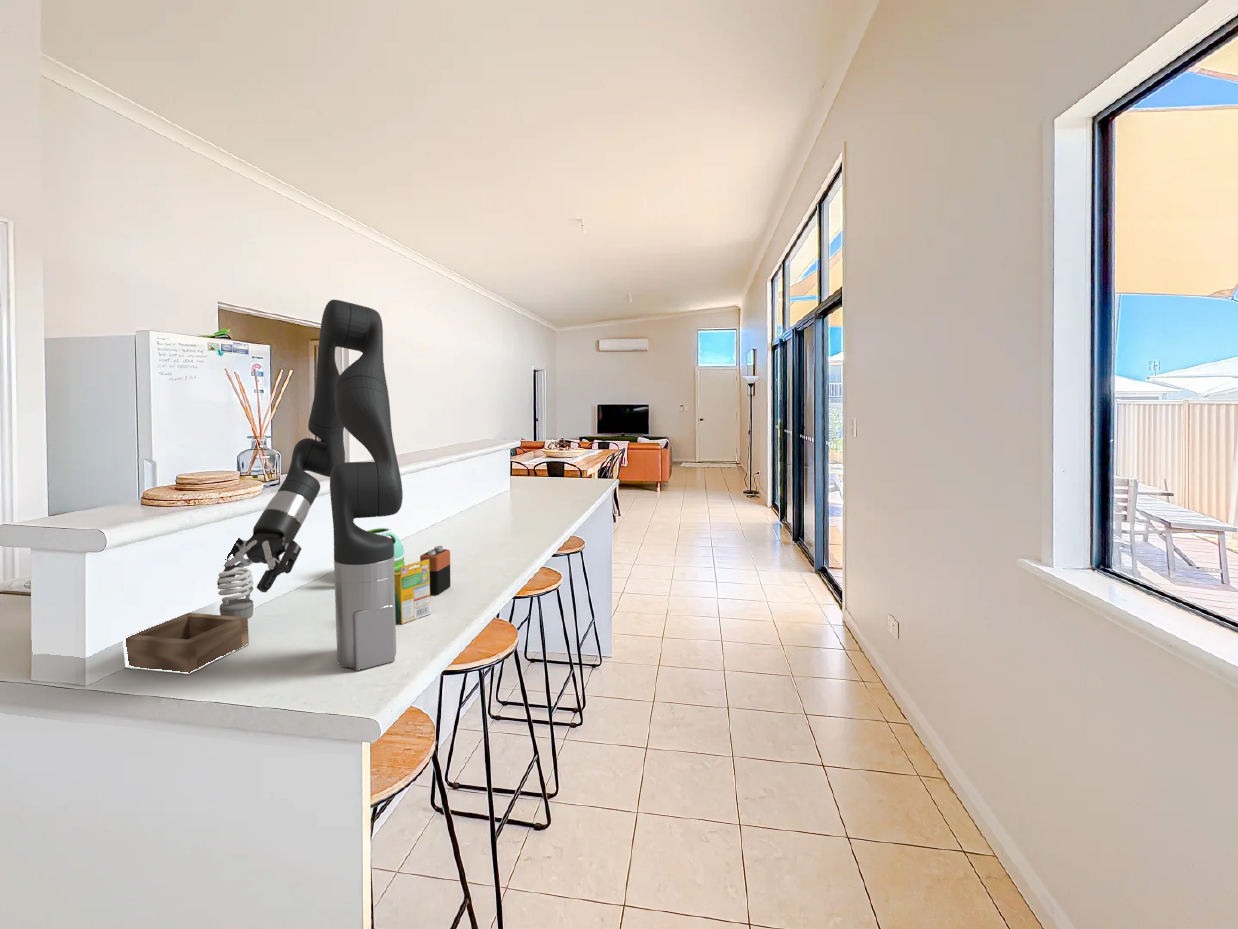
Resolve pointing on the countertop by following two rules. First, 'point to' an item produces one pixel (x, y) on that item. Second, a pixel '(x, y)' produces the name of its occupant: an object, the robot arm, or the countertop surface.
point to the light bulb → (233, 603)
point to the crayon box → (412, 592)
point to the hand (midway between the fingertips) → (241, 588)
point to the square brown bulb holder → (187, 642)
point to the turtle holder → (398, 546)
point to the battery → (438, 569)
